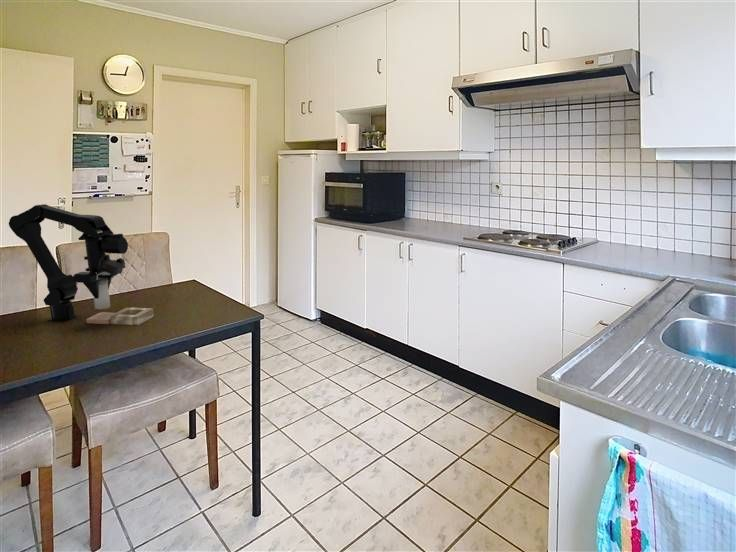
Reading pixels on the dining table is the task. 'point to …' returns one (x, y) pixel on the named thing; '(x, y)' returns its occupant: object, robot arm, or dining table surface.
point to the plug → (102, 295)
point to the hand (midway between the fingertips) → (101, 296)
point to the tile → (100, 318)
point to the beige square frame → (132, 316)
